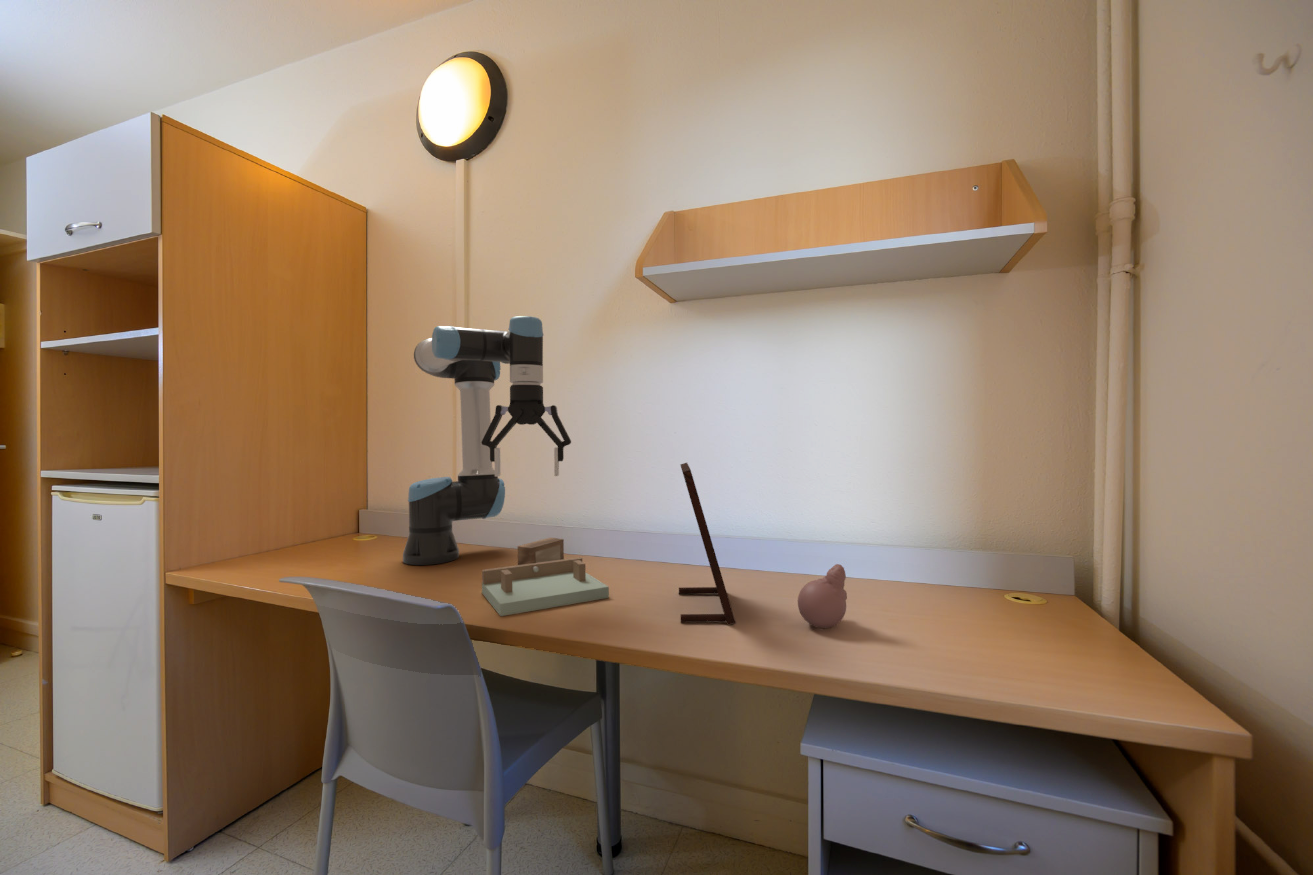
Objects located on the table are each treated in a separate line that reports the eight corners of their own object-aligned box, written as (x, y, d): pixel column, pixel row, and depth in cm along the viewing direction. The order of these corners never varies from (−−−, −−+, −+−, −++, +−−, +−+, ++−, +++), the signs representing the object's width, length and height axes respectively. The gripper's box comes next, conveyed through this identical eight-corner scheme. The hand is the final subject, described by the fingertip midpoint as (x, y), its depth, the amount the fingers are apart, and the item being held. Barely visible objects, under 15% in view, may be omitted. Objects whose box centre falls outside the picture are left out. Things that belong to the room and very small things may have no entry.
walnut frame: (518, 582, 138) (517, 546, 138) (550, 571, 148) (550, 537, 148) (531, 584, 135) (531, 548, 135) (564, 573, 146) (563, 539, 145)
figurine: (853, 620, 110) (853, 559, 109) (839, 638, 100) (840, 572, 100) (808, 612, 114) (808, 554, 114) (791, 629, 105) (791, 566, 104)
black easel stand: (735, 625, 107) (734, 469, 107) (680, 625, 107) (679, 470, 107) (724, 592, 128) (724, 462, 127) (678, 592, 128) (677, 462, 128)
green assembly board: (482, 592, 129) (481, 565, 129) (579, 578, 140) (579, 552, 140) (500, 616, 113) (500, 584, 113) (608, 597, 125) (608, 568, 124)
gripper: (467, 383, 124) (468, 477, 125) (579, 383, 126) (580, 477, 127) (475, 385, 132) (476, 474, 133) (581, 385, 134) (582, 473, 135)
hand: (527, 475), depth 130 cm, fingers open, 13 cm apart
